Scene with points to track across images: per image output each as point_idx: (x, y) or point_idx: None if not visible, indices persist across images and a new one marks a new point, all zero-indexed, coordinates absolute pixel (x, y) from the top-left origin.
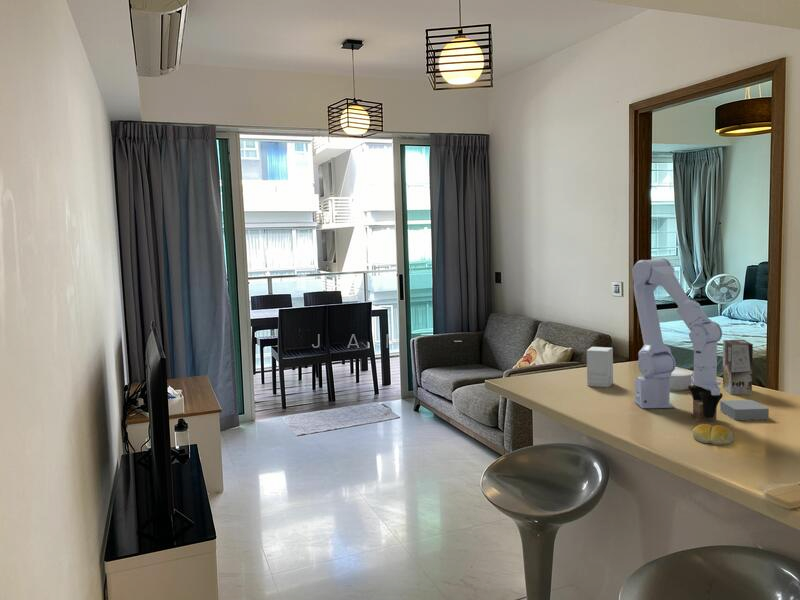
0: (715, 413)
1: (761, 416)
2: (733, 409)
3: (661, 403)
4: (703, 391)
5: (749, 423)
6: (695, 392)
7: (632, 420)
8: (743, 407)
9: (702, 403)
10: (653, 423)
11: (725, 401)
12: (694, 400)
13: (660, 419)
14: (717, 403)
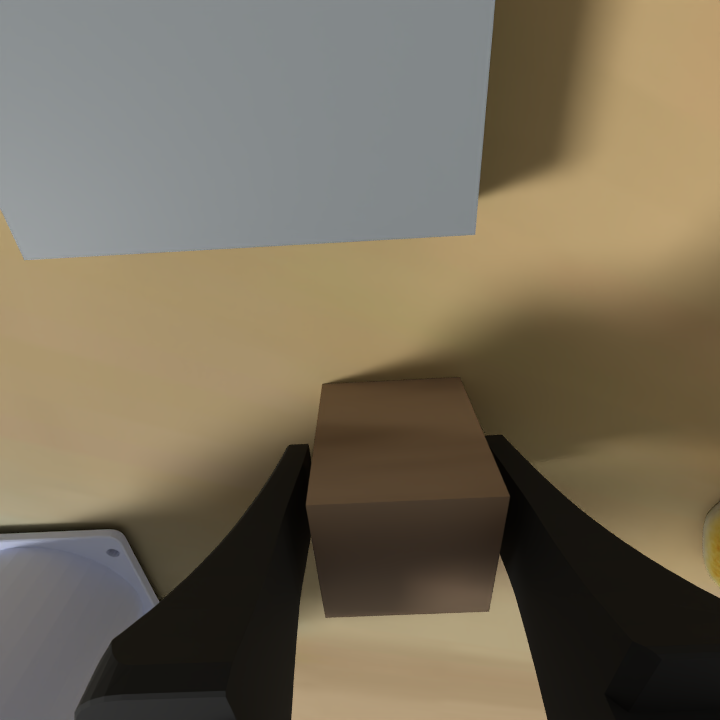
0: (475, 426)
1: None
2: (431, 235)
3: (127, 613)
4: (269, 651)
5: (584, 88)
6: (285, 688)
7: (392, 689)
8: (382, 42)
9: (464, 590)
10: (449, 646)
11: (42, 201)
12: (346, 614)
13: (382, 617)
14: (614, 539)
